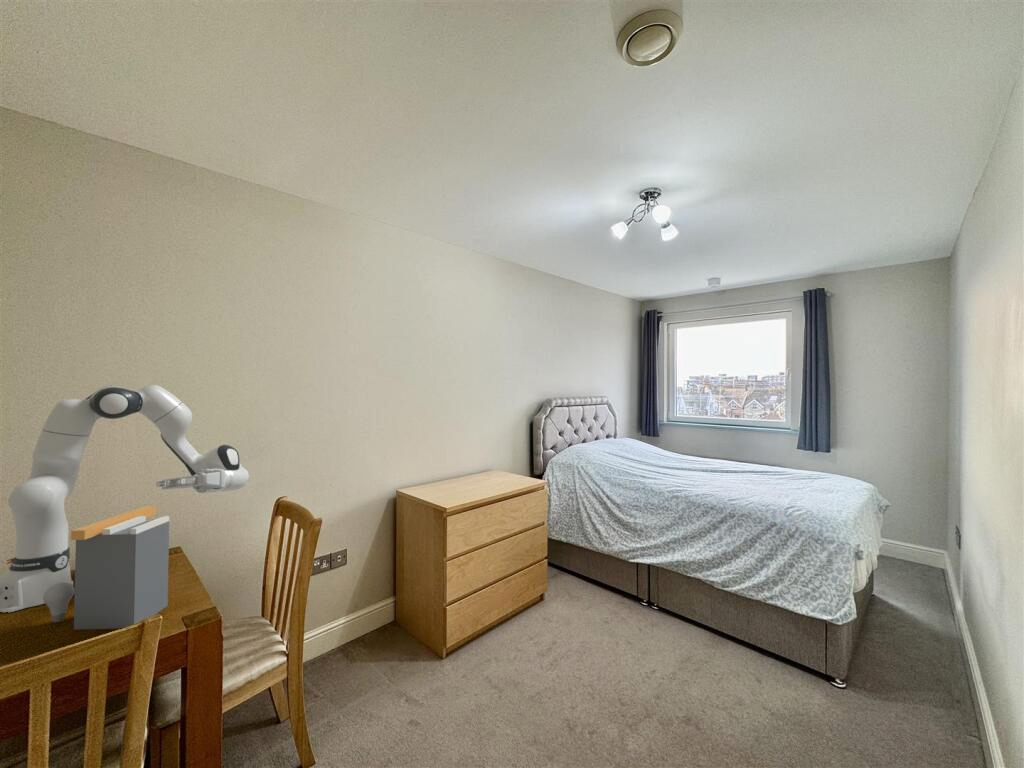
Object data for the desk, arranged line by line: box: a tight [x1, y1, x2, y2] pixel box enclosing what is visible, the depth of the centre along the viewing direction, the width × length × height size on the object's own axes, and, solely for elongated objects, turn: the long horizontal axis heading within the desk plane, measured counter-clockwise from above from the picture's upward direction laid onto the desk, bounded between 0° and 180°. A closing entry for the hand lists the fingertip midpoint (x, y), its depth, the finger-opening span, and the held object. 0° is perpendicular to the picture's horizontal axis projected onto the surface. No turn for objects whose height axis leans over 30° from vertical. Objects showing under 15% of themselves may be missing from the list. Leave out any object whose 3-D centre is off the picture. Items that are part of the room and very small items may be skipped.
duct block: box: [73, 515, 170, 630], centre depth 122 cm, size 16×12×28 cm
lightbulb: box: [43, 582, 75, 623], centre depth 119 cm, size 6×6×11 cm
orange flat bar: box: [70, 505, 158, 541], centre depth 124 cm, size 4×24×2 cm, turn 3°
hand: (168, 482), depth 143 cm, fingers open, 8 cm apart
